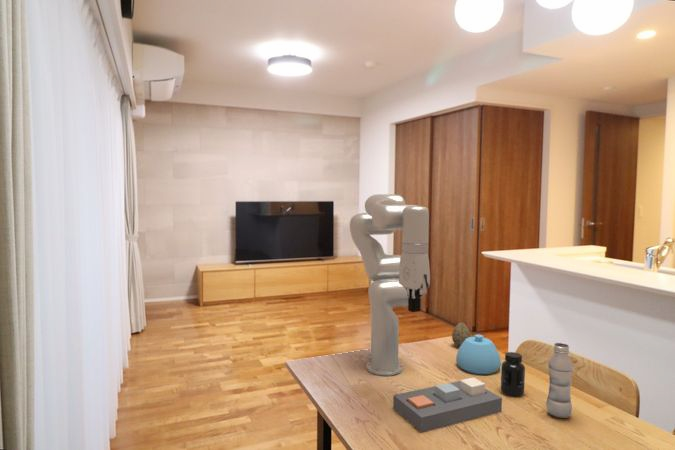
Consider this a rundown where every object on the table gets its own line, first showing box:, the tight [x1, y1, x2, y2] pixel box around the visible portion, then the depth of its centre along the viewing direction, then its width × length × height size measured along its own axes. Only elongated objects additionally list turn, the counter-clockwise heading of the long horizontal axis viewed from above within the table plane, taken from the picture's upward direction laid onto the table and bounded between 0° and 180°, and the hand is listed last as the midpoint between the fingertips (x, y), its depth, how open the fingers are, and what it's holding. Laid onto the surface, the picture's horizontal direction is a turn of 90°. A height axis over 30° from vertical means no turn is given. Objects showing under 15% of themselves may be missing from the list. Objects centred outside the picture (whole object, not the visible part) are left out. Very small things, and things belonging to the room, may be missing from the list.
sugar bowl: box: [455, 333, 502, 375], centre depth 160 cm, size 15×15×12 cm
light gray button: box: [434, 382, 460, 403], centre depth 129 cm, size 5×5×4 cm
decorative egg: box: [451, 321, 472, 348], centre depth 180 cm, size 7×7×10 cm
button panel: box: [392, 380, 503, 433], centre depth 129 cm, size 14×27×4 cm, turn 114°
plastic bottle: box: [545, 342, 574, 419], centre depth 125 cm, size 6×7×20 cm
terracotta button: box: [408, 395, 434, 409], centre depth 125 cm, size 5×5×4 cm
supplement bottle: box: [500, 351, 526, 398], centre depth 140 cm, size 7×7×12 cm
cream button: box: [459, 377, 486, 397], centre depth 132 cm, size 5×5×4 cm
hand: (414, 310), depth 133 cm, fingers closed
